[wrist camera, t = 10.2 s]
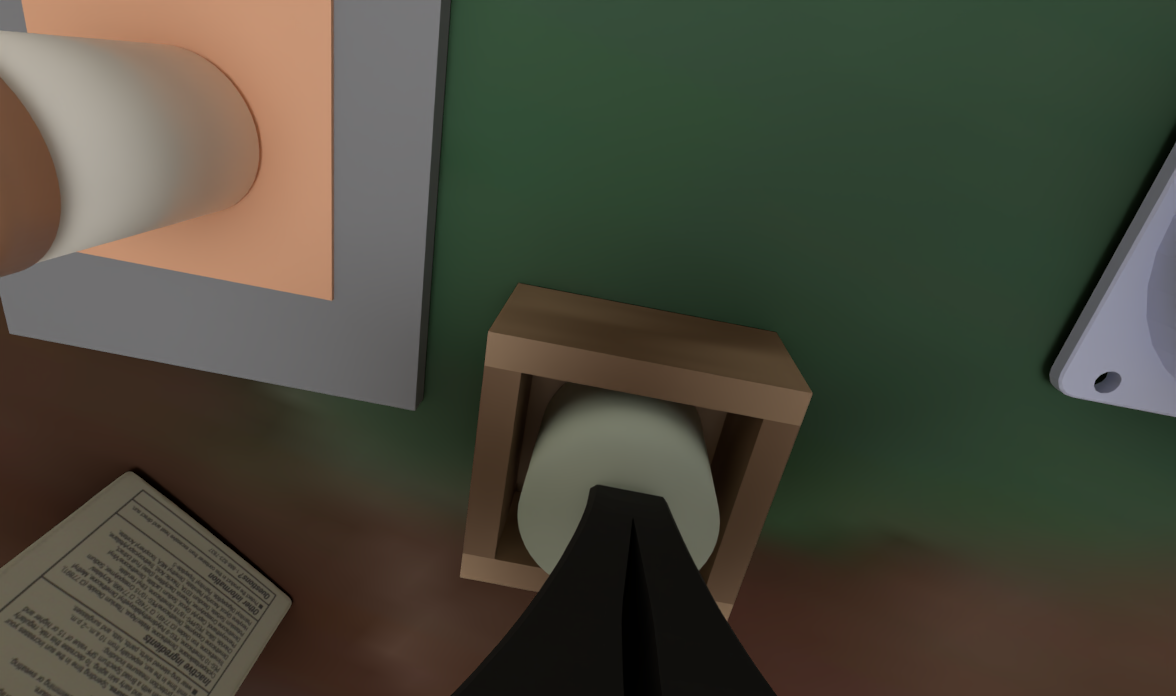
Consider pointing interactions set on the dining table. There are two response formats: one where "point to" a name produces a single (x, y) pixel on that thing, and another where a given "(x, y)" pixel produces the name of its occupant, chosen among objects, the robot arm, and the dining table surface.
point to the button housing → (642, 367)
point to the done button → (615, 467)
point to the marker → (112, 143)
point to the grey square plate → (274, 202)
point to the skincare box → (132, 604)
